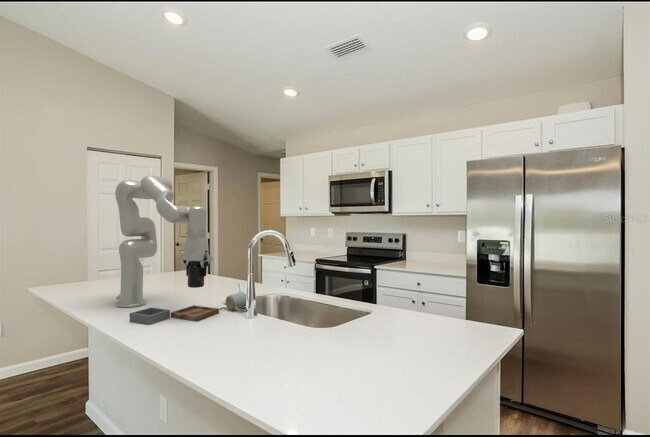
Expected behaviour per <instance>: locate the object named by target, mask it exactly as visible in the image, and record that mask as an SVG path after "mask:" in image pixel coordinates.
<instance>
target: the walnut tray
mask: <svg viewBox="0 0 650 437" xmlns="http://www.w3.org/2000/svg"><path fill="white" fill-rule="evenodd" d="M218 314H220V308H219V307H218V308H217V307H209V306H202V305H201V306H200V305H191V306H188V307H187V306H186V307H185V308H181V309H178V310H174V311H170V319H175V320H176V319H177V320H183V321H190V322H191V321H192V322H200V321H202V320H205V319H207V318H210V317H213V316H215V315H218Z"/></svg>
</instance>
